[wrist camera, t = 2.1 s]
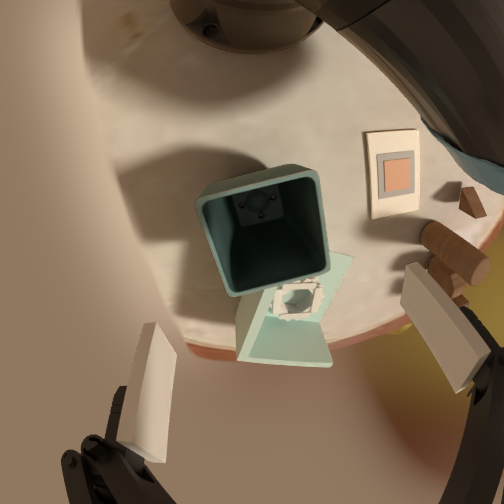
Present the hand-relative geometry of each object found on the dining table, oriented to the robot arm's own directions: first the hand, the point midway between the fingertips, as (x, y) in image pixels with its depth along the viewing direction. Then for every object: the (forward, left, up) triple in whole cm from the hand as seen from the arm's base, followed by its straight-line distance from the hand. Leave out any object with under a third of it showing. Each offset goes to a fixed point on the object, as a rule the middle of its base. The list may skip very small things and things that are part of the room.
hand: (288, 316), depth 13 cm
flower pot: (0, 0, -17) cm, 17 cm away
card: (0, +16, -17) cm, 23 cm away
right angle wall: (+12, +2, -17) cm, 21 cm away
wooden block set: (+11, +24, -17) cm, 32 cm away
